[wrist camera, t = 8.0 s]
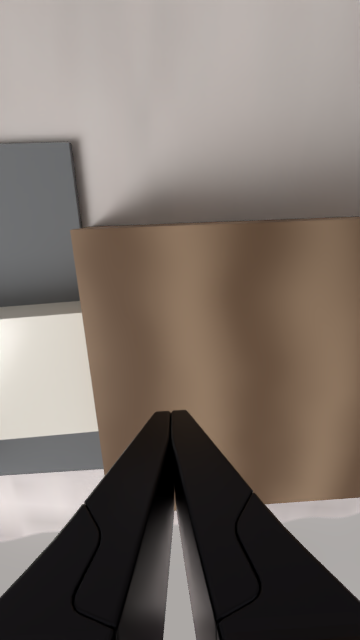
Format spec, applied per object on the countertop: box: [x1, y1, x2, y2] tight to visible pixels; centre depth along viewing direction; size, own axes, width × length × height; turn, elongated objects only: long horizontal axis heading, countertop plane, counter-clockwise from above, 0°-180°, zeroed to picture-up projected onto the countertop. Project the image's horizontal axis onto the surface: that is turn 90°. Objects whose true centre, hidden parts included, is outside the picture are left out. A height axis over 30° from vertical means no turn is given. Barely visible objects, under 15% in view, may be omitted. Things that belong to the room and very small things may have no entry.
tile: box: [0, 301, 98, 440], centre depth 18 cm, size 9×7×2 cm
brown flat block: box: [70, 217, 360, 511], centre depth 18 cm, size 17×16×4 cm
